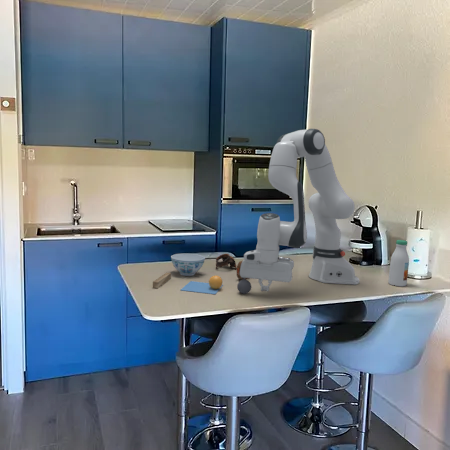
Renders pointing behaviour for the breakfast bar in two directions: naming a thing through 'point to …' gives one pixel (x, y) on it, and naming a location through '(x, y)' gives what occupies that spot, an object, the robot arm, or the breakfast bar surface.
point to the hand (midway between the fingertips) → (264, 290)
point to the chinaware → (187, 263)
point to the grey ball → (244, 286)
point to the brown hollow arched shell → (225, 261)
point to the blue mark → (199, 288)
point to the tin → (239, 271)
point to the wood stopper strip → (161, 280)
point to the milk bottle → (399, 265)
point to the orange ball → (215, 282)
